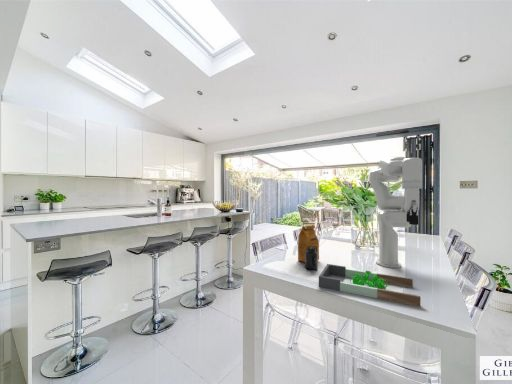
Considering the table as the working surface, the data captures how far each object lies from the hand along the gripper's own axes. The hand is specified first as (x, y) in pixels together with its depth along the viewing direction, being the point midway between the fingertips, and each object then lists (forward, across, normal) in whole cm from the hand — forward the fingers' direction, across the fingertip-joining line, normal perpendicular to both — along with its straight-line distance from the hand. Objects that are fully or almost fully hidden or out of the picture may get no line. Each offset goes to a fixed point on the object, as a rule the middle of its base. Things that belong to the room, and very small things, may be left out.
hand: (412, 223), depth 101 cm
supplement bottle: (+28, -1, -46) cm, 54 cm away
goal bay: (+28, +11, -21) cm, 37 cm away
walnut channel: (+28, +11, -7) cm, 31 cm away
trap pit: (+28, +11, -32) cm, 44 cm away
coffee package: (+28, -14, -51) cm, 60 cm away
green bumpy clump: (+29, +10, -18) cm, 35 cm away
